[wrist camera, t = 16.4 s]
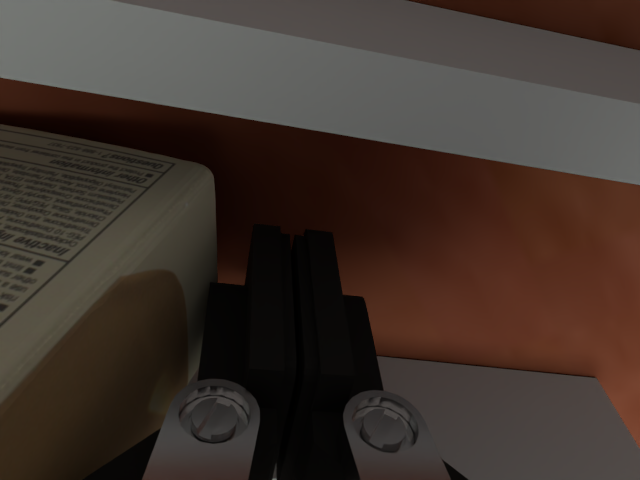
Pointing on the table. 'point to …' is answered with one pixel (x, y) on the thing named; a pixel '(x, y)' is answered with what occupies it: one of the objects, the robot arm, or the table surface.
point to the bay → (392, 127)
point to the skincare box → (96, 297)
